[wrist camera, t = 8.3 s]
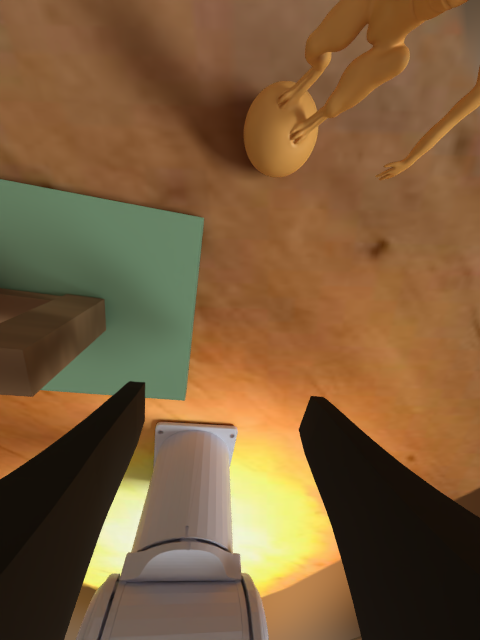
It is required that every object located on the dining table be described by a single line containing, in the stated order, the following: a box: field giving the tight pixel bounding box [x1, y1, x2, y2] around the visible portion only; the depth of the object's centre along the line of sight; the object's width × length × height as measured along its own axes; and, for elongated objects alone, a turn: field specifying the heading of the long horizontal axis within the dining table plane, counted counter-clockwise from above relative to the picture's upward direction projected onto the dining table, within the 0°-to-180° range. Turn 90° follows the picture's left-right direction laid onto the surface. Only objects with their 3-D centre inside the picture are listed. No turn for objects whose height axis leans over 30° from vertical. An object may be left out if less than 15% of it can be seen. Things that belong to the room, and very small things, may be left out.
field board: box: [0, 179, 204, 400], centre depth 16 cm, size 15×21×1 cm
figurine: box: [244, 0, 480, 180], centre depth 8 cm, size 8×6×12 cm
